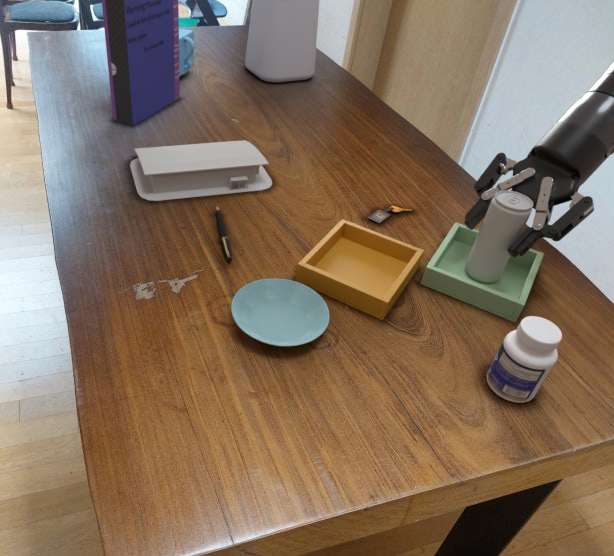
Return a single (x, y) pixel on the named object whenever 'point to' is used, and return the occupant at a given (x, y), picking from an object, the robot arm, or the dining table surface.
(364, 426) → the dining table surface
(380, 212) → the key tag
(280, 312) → the saucer
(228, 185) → the white plastic case
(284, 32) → the plastic bottle
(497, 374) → the pill bottle
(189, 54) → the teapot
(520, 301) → the sage tray
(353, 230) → the ochre tray
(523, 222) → the beverage can
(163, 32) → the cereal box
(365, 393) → the dining table surface
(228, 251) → the fountain pen
